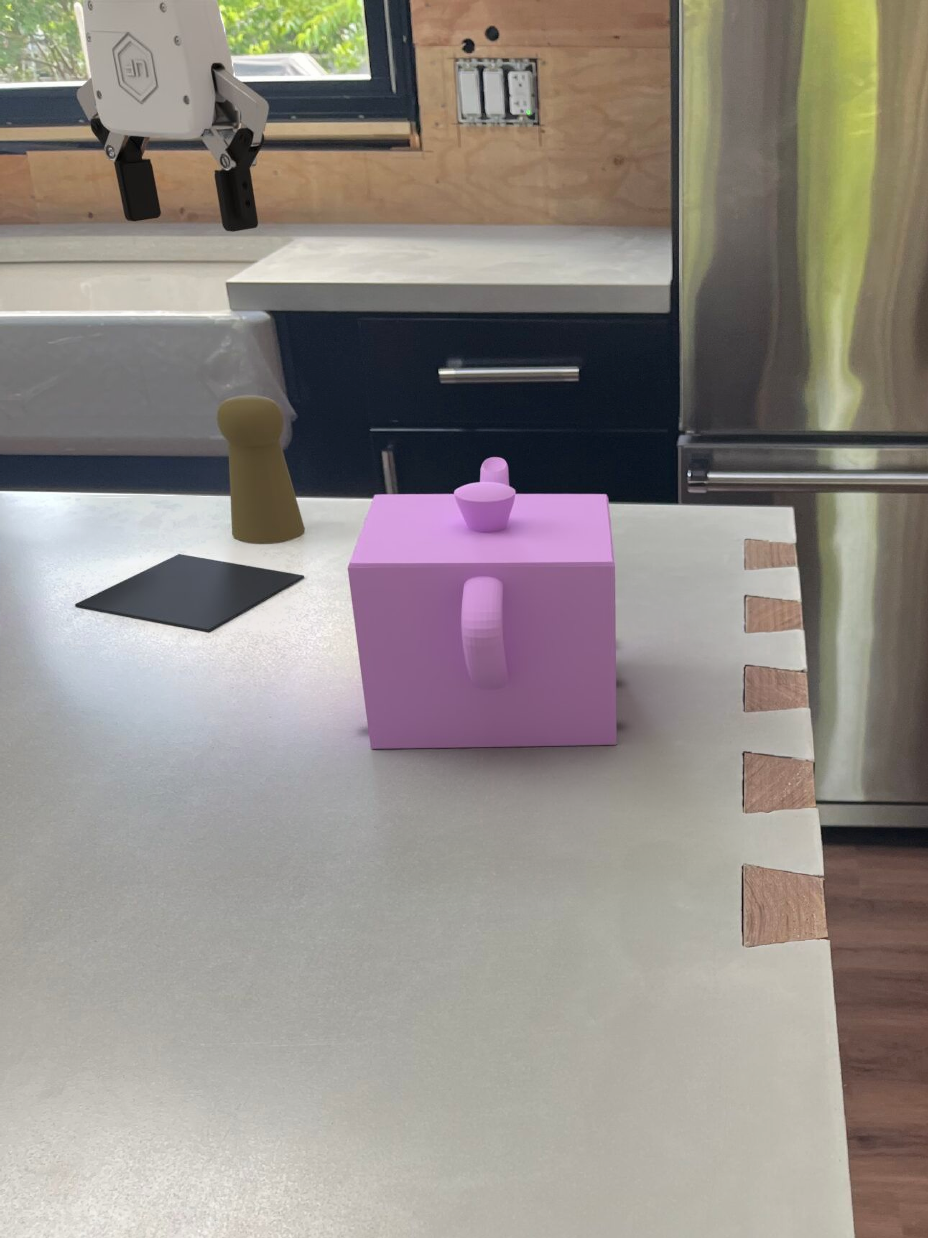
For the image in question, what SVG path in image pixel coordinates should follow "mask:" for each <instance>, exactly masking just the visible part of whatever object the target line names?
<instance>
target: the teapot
mask: <svg viewBox="0 0 928 1238" xmlns="http://www.w3.org/2000/svg"><path fill="white" fill-rule="evenodd" d="M509 475H510V473H509V465H508V463H507V461H506V460H505V459H504V458H503V457H498V456H492V457H489V458H486V459H485V460H484V461H483V462H482V464H481V467H480V475H479V481H477V482H470V483H468V484H464V485H461V486H460V487H458V488H456V489H454V491H453V493H418V494H417V493H404V494H403V493H401V494H400V493H398V494H397V493H395V494H394V493H392V494H391V493H390V494H389V493H387V494H385V493H384V494H379V493H378V494H373V498H372V501H371V503H370V506H369V509H368V511H367V514H366V517H365V519H364V522H363V525H362V528H361V530H360V533H359V536H358V539H357V541H356V544H355V546H354V548H353V552H352V555H351V557H350V560H349V562H348V565H347V574H348V583H349V591H350V598H351V605H352V612H353V620H354V629H355V635H356V636H355V637H356V644H357V652H358V659H359V668H360V676H361V684H362V690H363V698H364V699H363V700H364V706H365V714H366V721H367V730H368V737H369V738H368V739H369V746H370V750H382V749H383V750H384V749H385V750H387V749H388V750H389V749H447V748H449V749H451V748H452V749H454V748H455V749H456V748H510V747H516V748H517V747H564V746H567V747H569V746H571V747H572V746H573V747H575V746H617V745H618V741H617V740H618V739H617V735H618V734H617V733H618V731H617V632H616V631H617V625H616V620H617V618H616V615H617V613H616V561H615V551H614V542H613V532H612V523H611V513H610V512H611V511H610V503H609V496H608V495H607V494H606V493H517V492H516V489H515V488H513V486H510V477H509Z"/></svg>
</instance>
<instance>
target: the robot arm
mask: <svg viewBox="0 0 928 1238" xmlns="http://www.w3.org/2000/svg"><path fill="white" fill-rule="evenodd" d="M82 13H83V24H84V25H83V27H84V35H85V43H86V50H87V57H88V58H87V59H88V65H89V72H90V78H89V79H88V80H87V81H86V82H85V83H84V84H83V85H81V86H80V87H79V88H78V89H77V91H76V98H77V101H78V103H79V106H80V107H81V109H82V110H83V112H84V114H85V116H86V118H87V119H88V121H89V122H90V129H91V132H92V134H93V135H94V136H95V137H96V138H97V140H98V141H99V142H100V144H102V146H103V147H104V148H103V149H104V154H105V157H106V158H107V159H108V161H111V162H113V165H114V170H115V173H116V180H117V185H118V189H119V195H120V200H121V205H122V209H123V214H124V218H125V220H126V221H128V222H140V221H146V220H153V219H158V218H160V217H161V215H162V209H161V205H160V200H159V195H158V189H157V184H156V178H155V173H154V168H153V164H152V160H151V158H143V157H144V154H145V151H146V149H147V146H148V143H149V141H150V138H156V139H157V138H158V139H171V140H192V139H197V138H198V137H199V138H200V139H201V141H202V142H203V143H204V145H205V146H206V148H207V149H208V151H209V152H210V154H211V155H212V156H213V158H214V159H215V161H216V162H217V163H218V165H219V167H220V168H221V169H215V170H214V182H215V188H216V194H217V199H218V207H219V211H220V218H221V225H222V227H223V229H224V230H225V231H226V232H239V231H245V230H251V229H256V228H258V227H259V226H258V225H259V219H258V213H257V206H256V199H255V192H254V185H253V180H252V172H251V169H253V168H255V167H256V166H257V162H258V160H257V159H258V158H257V156H258V154H259V152H260V150H261V149H262V147H263V145H264V144H265V134H264V132H266V131H265V130H266V127H267V122H268V117H269V113H270V112H269V111H270V105H269V103H268V100H266V99H265V98H264V97H263V96H261V95H260V94H259V93H257V92H256V91H255V90H253V88H251V87H249V86H248V85H247V84H245V83H244V82H242V80H240V79H238V78H237V77H236V76H235V69H234V64H233V59H232V55H231V51H230V45H229V41H228V36H227V32H226V28H225V24H224V20H223V16H222V13H221V9H220V6H219V2H218V0H82Z"/></svg>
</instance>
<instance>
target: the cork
mask: <svg viewBox="0 0 928 1238" xmlns="http://www.w3.org/2000/svg"><path fill="white" fill-rule="evenodd" d="M216 421H217V426H218V429H219V432H220V434H221V435H222V437H223V438H224V439H225V440H226V441H227V446H228V447H227V448H228V467H229V468H228V469H229V492H230V493H229V494H230V496H229V497H230V516H231V517H230V519H231V535H232V537H233V538H234V539H235V540H238V541H240V542H243V543H247V544H259V545H261V544H274V543H275V544H276V543H284V542H287V541H290V540H294V539H296V538H299V537H300V536H302V535H303V534H304V533H305V530H306V529H305V525H304V521H303V517H302V514H301V511H300V510H301V509H300V507H299V504H298V499H297V496H296V493H295V489H294V486H293V482H292V479H291V475H290V471H289V469H288V464H287V461H286V458H285V453H284V450H283V447H282V443H281V440H280V438H281V436H282V434H283V432H284V423H285V421H284V414H283V411H282V409H281V407H279V405H278V403H277V402H276V401H275V400H273V399H271V398H269V397H267V396H263V395H251V394H249V395H239V396H233V397H231V398H227V399H226V400H223V401H222V402H221V403H220V405H219V406H218V409H217V412H216Z"/></svg>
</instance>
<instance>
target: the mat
mask: <svg viewBox="0 0 928 1238" xmlns="http://www.w3.org/2000/svg"><path fill="white" fill-rule="evenodd" d="M303 579H305V575H304V574H299V573H293V572H287V571H280V570H275V569H269V568H264V567H257V566H251V565H245V564H240V563H234V562H228V561H222V560H216V559H211V558H205V557H199V556H193V555H189V554H181V553H177V554H176V555H174V556H172V557H169V558H167V559H166V560H164V561H162V562H160V563H157V564H155V565H153V566H151V567H149V568H146V569H145V570H143V571H140V572H139V573H136V574H134V575H132V576H130V577H128V578H126V579H124V580H122V581H120V582H118V583H116V584H114V585H112V586H109V587H107V588H106V589H103V590H101V591H99V592H97V593H95V594H94V595H91V596H88V597H87V598H85V599H83V600H80V601H78V602H77V603H74V606H75V608H81V609H86V610H91V611H95V612H102V613H108V614H113V615H118V616H123V617H129V618H134V619H139V620H144V621H149V622H154V623H159V624H165V625H169V626H170V625H171V626H175V627H180V628H185V629H186V628H187V629H191V630H196V631H202V632H206V633H210V632H211V631H213V630H216V629H217V628H219V627H220V626H222V625H224V624H226V623H227V622H229V621H231V620H233V619H234V618H237V617H238V616H239V615H242V614H243V613H245V612H246V611H248V610H251V609H252V608H254V607H256V606H257V605H259V604H261V603H263V602H264V601H266V600H268V599H269V598H272V597H273V596H275V595H276V594H278V593H280V592H282V591H283V590H285V589H287V588H289V587H290V586H292V585H294V584H296V583H298V582H299V581H301V580H303Z"/></svg>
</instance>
